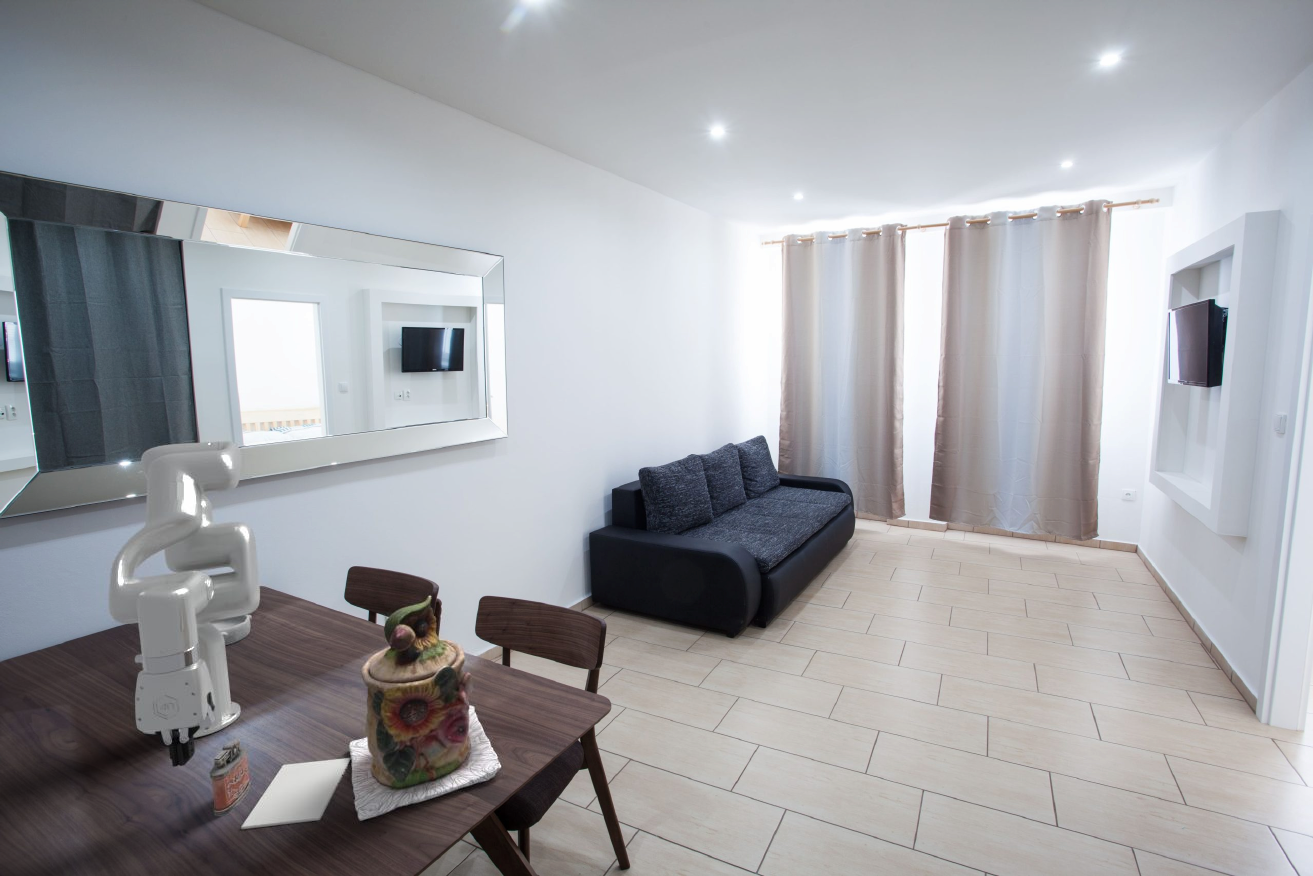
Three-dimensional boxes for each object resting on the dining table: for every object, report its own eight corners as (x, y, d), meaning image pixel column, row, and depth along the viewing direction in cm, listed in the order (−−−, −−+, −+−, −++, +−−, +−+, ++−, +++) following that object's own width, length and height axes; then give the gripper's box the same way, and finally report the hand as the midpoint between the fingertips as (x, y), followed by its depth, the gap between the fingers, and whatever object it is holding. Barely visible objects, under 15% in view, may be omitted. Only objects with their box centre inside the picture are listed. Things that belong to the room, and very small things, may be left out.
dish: (230, 650, 167) (228, 632, 166) (179, 650, 167) (177, 632, 167) (264, 627, 181) (263, 610, 181) (217, 627, 182) (215, 610, 181)
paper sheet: (241, 829, 102) (241, 827, 102) (283, 767, 118) (283, 765, 118) (319, 820, 104) (319, 817, 104) (350, 759, 120) (350, 757, 120)
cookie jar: (347, 748, 123) (334, 593, 119) (473, 713, 135) (465, 570, 131) (357, 829, 102) (342, 643, 98) (505, 778, 114) (497, 610, 110)
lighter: (236, 784, 113) (230, 733, 112) (255, 783, 113) (250, 732, 112) (208, 816, 105) (202, 761, 104) (229, 815, 105) (223, 760, 104)
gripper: (106, 673, 100) (119, 781, 102) (208, 664, 102) (219, 769, 104) (137, 653, 107) (148, 753, 109) (232, 645, 110) (241, 743, 111)
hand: (183, 761), depth 107 cm, fingers closed
